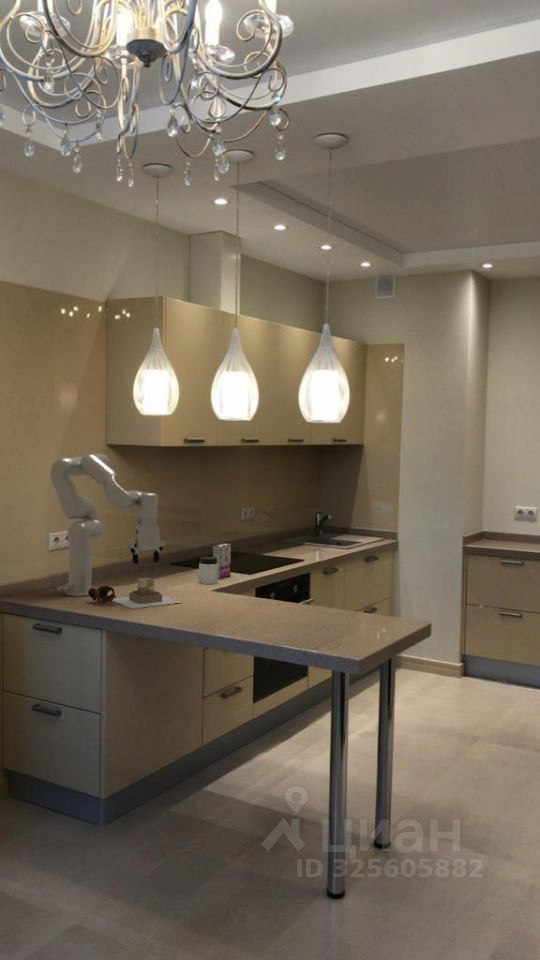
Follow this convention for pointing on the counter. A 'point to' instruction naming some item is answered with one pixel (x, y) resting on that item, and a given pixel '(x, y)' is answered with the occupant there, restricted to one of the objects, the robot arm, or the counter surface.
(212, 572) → the jar
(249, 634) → the counter surface
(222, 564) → the candy bar box
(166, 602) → the base
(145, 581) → the maple block
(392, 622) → the counter surface
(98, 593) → the brown animal figurine
